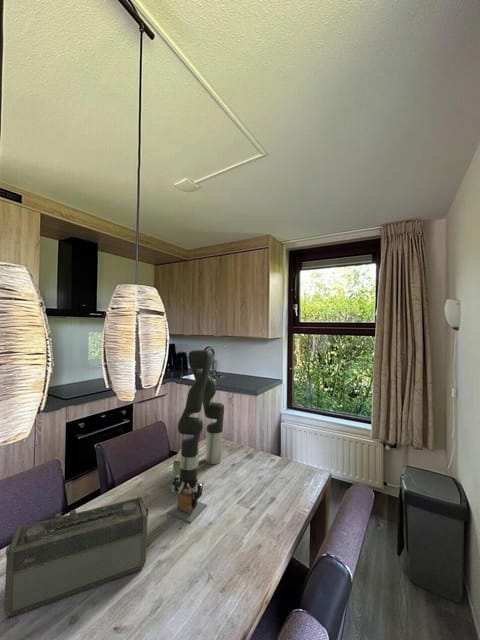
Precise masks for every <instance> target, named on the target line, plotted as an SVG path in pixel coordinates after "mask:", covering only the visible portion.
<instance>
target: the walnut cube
mask: <svg viewBox="0 0 480 640" xmlns="http://www.w3.org/2000/svg"><path fill="white" fill-rule="evenodd" d="M193 489H194V488H193ZM193 489H192V490H193ZM194 495H195V493H194ZM198 500H199V499H197V501H198ZM196 506H197V505H196ZM196 506H195V507H196ZM195 507H194V508H195ZM194 508H192V495H191V494H190V492H189V490H187V489H184V490H182V492H180V493H179V494H178V493H177V509H179V510H182V511H185V512H187V513H190V512H191V511H192V510H193V509H194Z"/></svg>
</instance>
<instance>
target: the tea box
mask: <svg viewBox="0 0 480 640" xmlns="http://www.w3.org/2000/svg"><path fill="white" fill-rule="evenodd" d="M199 454H200V449H199V448H198V461H199V457H200V455H199ZM180 459H181V447H180V448H179V450H178V452H177V454H176V456H175V458H174V459H173V465H172V480H171V481H172V484H171V492H172V493H176V494H178V492H176V491H175V486H174V477H176V476H177V475H179V476H180ZM198 476H199V474H198V475H197V477H198ZM180 486H181V482H180ZM177 487H178V486H177Z"/></svg>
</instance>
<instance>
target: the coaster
mask: <svg viewBox="0 0 480 640" xmlns="http://www.w3.org/2000/svg"><path fill="white" fill-rule="evenodd" d="M207 507H208V504H207V503H203V502H201V501H198V500H197V506H196V507H195V508H194V509H193V510H192V511H191V512H190V513H187V512H185V511H182V510H179V509H177V503H176V502H175V504H174V505H173V506H172V507H171V508H169V509H168V510H167V512H166V514H167V515H169V516H172V517H174V518H177V519H179V520H181V521H184V522H186V523H189V524H191V523H193V522H194V520H196V518H197V517H198V516H199V515H200V514H201V513H202V512H203V511H204V510H205V509H206V508H207Z"/></svg>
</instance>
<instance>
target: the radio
mask: <svg viewBox="0 0 480 640" xmlns="http://www.w3.org/2000/svg"><path fill="white" fill-rule="evenodd" d="M148 515H149V509H148V507H146V504H145V502H144V499H143V497H142V496H137V497H136V498H135V497H134V498H131V499H128V500H127V499H126V500H124V501H119V502H116V503H115V502H114V503H111V504H108V505H107V504H106V505H103V506H100V507H96V508H91V509H88V510H84V511H80V512H77V511H76V509H72V510H70V511H69V514H68V515H67V514H66V515H64V516H62V513H60V512H59V513H56V514H55V515H54V518H51V519H48V520H44V521H43V520H42V521H39V522H35V523H32V524H30V523H29V524H27V525H24V524H22V525H20V526H18V527H17V528H16V530H15V532H14V534H13V537H12V539H11V542H10V543H9V544H8V546H7V547H6V549H5V555H6V563H5V580H4V581H5V583H4V584H5V585H4V586H5V587H4V606H3V607H4V608H3V611H4V613H5V617H7V616H10V617H14V616H17V615H19V614H21V613H20V612H22V613H24V612H23V611H25V610H28V609H30V610H33V609H36V608H38V607H37V606H39V607H41V606H43V604H44V605H47V604H50V603H52V602H54V601H58V600H61V599H63V598H66V597H68V596H72V595H74V594H77V593H80V592H82V591H84V590H87V589H90V588H93V587H96V586H100V585H102V584H105V583H107V582H110V581H113V580H115V579H118V578H121V577H123V576H126V575H129V574H131V573H132V574H133V573H134V572H136V571H139V570H141V569H143V568H144V567H145V565H146V564H145V563H146V561H147V540H148V521H149V520H148V517H149V516H148ZM71 594H72V595H71ZM49 602H50V603H49ZM46 603H47V604H46ZM40 605H41V606H40ZM35 607H36V608H35ZM32 608H33V609H32ZM28 611H29V610H28ZM25 612H26V611H25ZM18 613H19V614H18ZM16 614H17V615H16ZM13 615H14V616H13Z"/></svg>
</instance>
